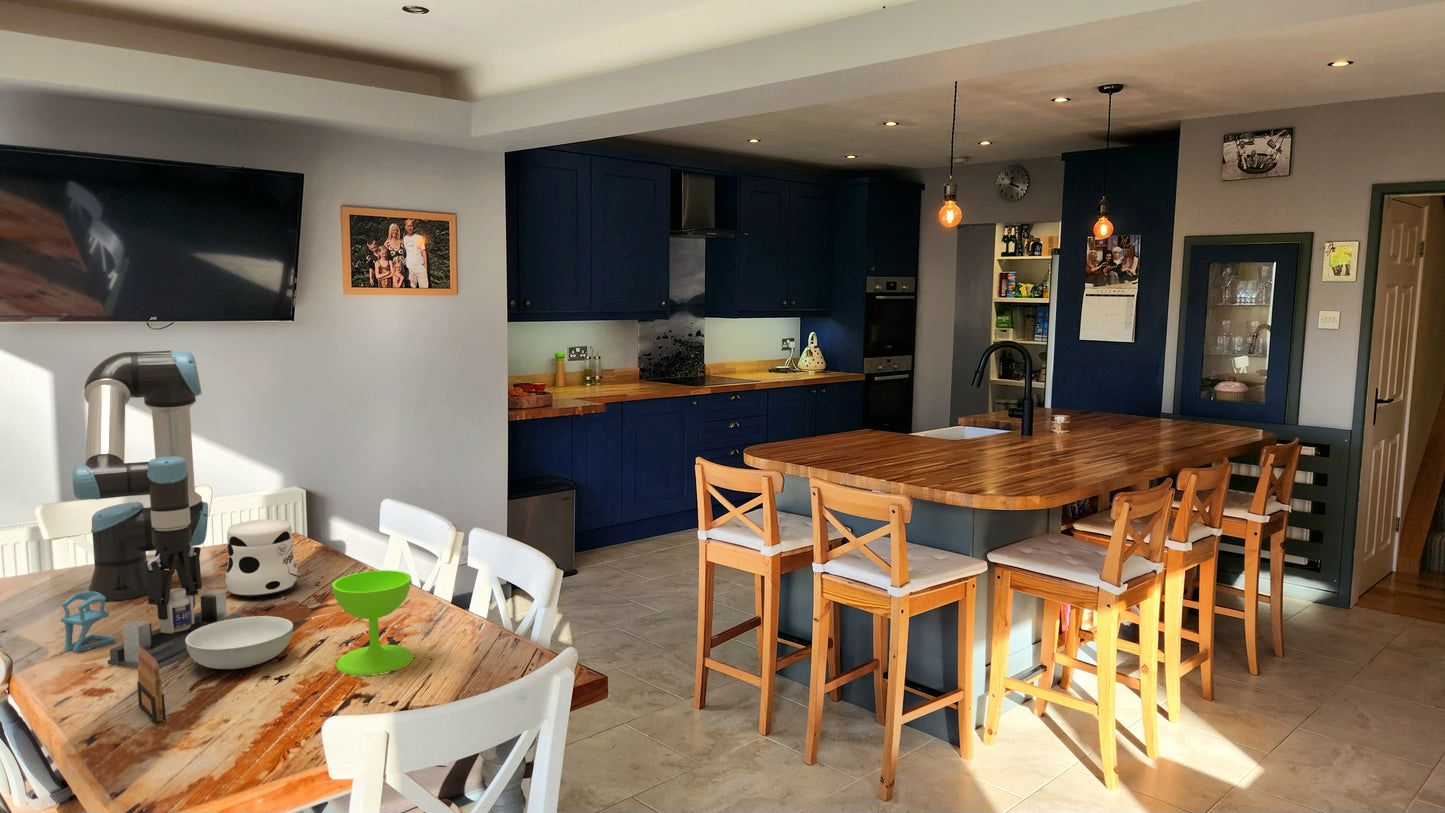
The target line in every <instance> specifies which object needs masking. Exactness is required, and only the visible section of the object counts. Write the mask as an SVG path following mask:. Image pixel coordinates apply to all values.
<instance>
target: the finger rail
mask: <svg viewBox="0 0 1445 813" xmlns="http://www.w3.org/2000/svg"><path fill="white" fill-rule="evenodd" d="M199 600H200V611H198V612H194V622H195V623H194V624H191V626H190V628H188V629H186V630H184V631H179V632H173V633H162V632H161V627H159V628H158V629H155V630H153V631H152V629H153V628H152V623H150V621H141V620H140V621H139V620H133V621H129V622H127V623H125V624H122V627H121V628H122V639H123V641H122V642H123V643H122V644H120V645H117V646H115V647H112V648H110V649H109V658H110V659H108V660H107V665H108V664H111V665H110V666H112V665H117V666H116V667H121V666H124V668H129V667H133V668H132V669H137V668H138V655H139V649H140V647H142V648H143V649H145V651H147V652H148V654H150V655H151V657H153V658H154V659H156V661H157V663H158V666H159V669H161V668H163V667H165V666H167V665H169V664H172V663H174V662H175V660H176V661H178V660H180V659H182V658H184V657H186V656H188V654H189V653H188V651H187V647H186V643H185V639H186V637H187V636H188V635H189V634H190V633H191V632H193V631H194V630H196V629H198V628H201V627H203V626H206V625H209V624H212V623H216V622H220V621H224V620H229V619H235V618H241V614H240V613H233V612H232V613H231V614H228V612H227V597H226V591H225V590H217V589H210V590H209V589H208V590H207V591H205V592H204V591H203V592H202V593H201V596H200V599H199ZM227 614H228V615H227ZM179 658H180V659H179ZM177 659H178V660H177ZM173 661H174V662H173ZM171 662H172V663H171ZM162 666H163V667H162ZM160 667H161V668H160Z"/></svg>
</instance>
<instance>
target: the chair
mask: <svg viewBox="0 0 1445 813" xmlns="http://www.w3.org/2000/svg"><path fill="white" fill-rule="evenodd" d="M77 600H80V601H84V602H83V603H82V604H80V605H79V606H77V609H78V611H79V612H78V613H74V614H70V612H71V611H70V609H69V608H68V606H70V604H71V603H72V602H74V601H77ZM105 600H106V598H105V597H104V596H103V595H102V594H100V593H98V592H94V591H90V592H89V591H86V592H80V593H78V594H74V595H73V596H70V597H69V598H67V600H66V601H64V602H62V603H61V604H60V605H61V607H62V608H63V610H64V617H62V618H60V622H61V623H64V626H65V627H64V628H65V640H64V641H65V642H64V644H65V645H64V646H65V647H64V652H69V650H70V651H72V653H73V652H77V651H80V652H83V651H86V650H85V649H87V650H89V649H88V648H91V649H93V648H92V647H95V648H97V646H99V647H101V645H103V646H106V645H105V644H107V645H110V644H113V642H114V643H116V642H117V638H116V637H113V636H107V635H100V634H95V633H91V634H88V632H89V630H90V629H91V627H92V626H93V625H94V624H95V623H97V622H99V621H101V620H102V619H105V618H107V617H110V612H108V611H105V608H104V607H105V604H106V601H105ZM95 603H100V605H99V608H98V609H99V610H94V609H91V607H90V605H92V604H95ZM75 625H76V626H81V627H82V628H81V631H80V634H79V636H78V638H77V640H76V641H75V642H73V635H74V634H73V633H74V626H75ZM91 638H92V639H94V638H97V639H96V640H99V639H101V640H100V641H96V642H92V643H86V642H88V641H90V640H92V639H91ZM89 639H90V640H89ZM87 640H88V641H87ZM84 642H85V643H86V644H85V643H84ZM82 643H83V644H82ZM71 649H72V650H71ZM82 650H83V651H82ZM77 653H78V652H77Z"/></svg>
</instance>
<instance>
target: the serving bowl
mask: <svg viewBox="0 0 1445 813" xmlns="http://www.w3.org/2000/svg"><path fill="white" fill-rule="evenodd" d="M293 631H294V624H293V622H292V621H291V620H290V619H287V618H284V617H279V616H271V615H269V616H268V615H264V616H261V615H260V616H259V615H258V616H257V615H255V616H243V617H240V618H235V619H229V620H224V621H220V622H216V623H212V624H209V625H206V626H203V627H201V628H198V629H196V630H194V631H193V632H191V633H190V634H189V635H188V636H187V637H186V639H185V643H186V647H187V651H188V653H189V656H190V657H191V658H192V659H193V660H194V662H196V663H197V664H198V665H200V666H202V667H206V668H209V669H217V670H239V669H240V668H241V669H246V668H250V667H254V666H256V665H260V664H263V663H265V662H268V661H269V660H271V659H273V658H275V657H277V656H278V655H280V654H281V653H282V652H283V651H284V650H285V649H286V647H288V645H289V644H290V642H291V640H292V636H293ZM253 665H254V666H253Z"/></svg>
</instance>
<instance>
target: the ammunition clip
mask: <svg viewBox="0 0 1445 813" xmlns="http://www.w3.org/2000/svg"><path fill="white" fill-rule="evenodd" d="M137 678H138V681H136V682H137V697H138V698H137V699H138V707H139V708H140V710H142V711H144V712H145V713H146V714H147V715H148V716H149V717H148V716H147V715H146V714H145V713H144V714H145V715H146V716H147V717H148V718H149V719H150V718H151V719H152V720H151V719H150V720H151V721H152V723H153V724H155V723H156V724H158V723H157V722H159V723H161V722H160V721H163V720H166V721H167V717H166V707H165V694H164V693H163V686H162V678H161V674H160V668H159V666H158V663H157V661H156V659H154V658H153V657H151V655H150V654H148V652H147V651H145V649H143V648H142V647H140V649H139V655H138V669H137ZM163 722H164V721H163Z"/></svg>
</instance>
